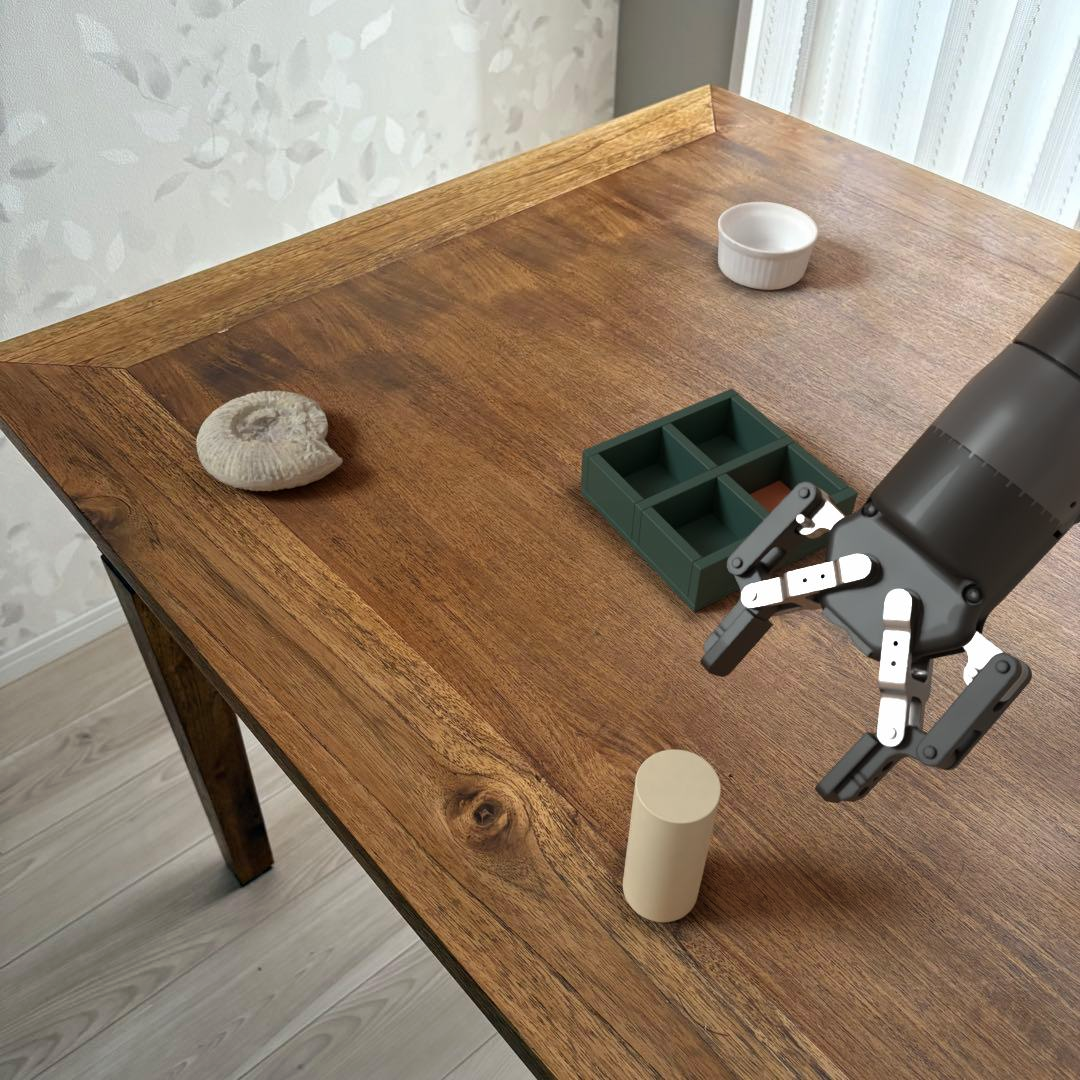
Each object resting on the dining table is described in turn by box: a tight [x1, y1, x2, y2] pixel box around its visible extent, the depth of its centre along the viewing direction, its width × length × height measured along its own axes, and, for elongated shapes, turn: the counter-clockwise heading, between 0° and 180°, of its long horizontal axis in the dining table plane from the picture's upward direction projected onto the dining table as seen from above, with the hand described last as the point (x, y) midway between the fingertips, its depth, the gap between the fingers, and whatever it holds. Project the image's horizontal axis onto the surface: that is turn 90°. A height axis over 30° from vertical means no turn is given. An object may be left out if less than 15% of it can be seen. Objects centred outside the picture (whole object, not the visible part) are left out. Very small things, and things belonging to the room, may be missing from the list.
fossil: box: [195, 390, 344, 492], centre depth 82 cm, size 11×4×10 cm
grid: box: [580, 388, 859, 613], centre depth 77 cm, size 13×13×4 cm
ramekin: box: [717, 201, 820, 291], centre depth 100 cm, size 9×9×4 cm
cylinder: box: [622, 748, 722, 923], centre depth 55 cm, size 4×4×10 cm
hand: (766, 731), depth 54 cm, fingers open, 8 cm apart
